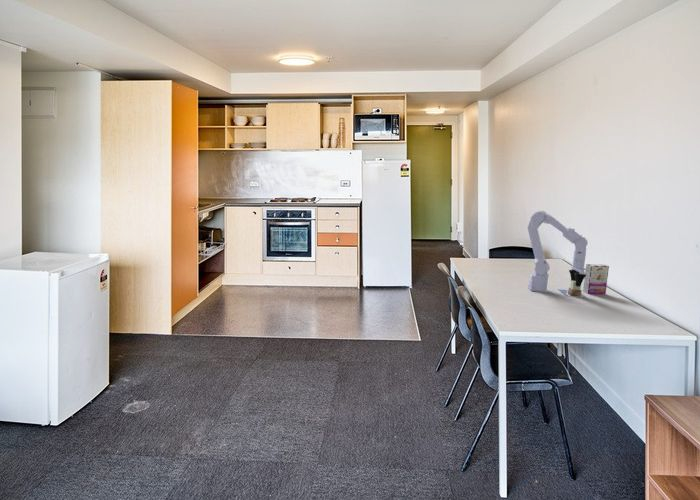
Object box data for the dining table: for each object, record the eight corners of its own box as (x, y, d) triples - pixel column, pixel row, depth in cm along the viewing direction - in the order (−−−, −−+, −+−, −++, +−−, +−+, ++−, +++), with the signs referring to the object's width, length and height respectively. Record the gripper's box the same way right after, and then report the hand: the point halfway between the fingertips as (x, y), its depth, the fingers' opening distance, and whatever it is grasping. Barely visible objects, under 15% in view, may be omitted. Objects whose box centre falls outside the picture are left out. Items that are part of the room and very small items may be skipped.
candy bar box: (599, 292, 285) (603, 264, 282) (605, 294, 280) (609, 265, 278) (581, 292, 283) (585, 263, 280) (587, 294, 278) (591, 265, 275)
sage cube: (572, 289, 271) (573, 282, 270) (570, 287, 275) (571, 280, 274) (580, 290, 270) (581, 282, 270) (577, 288, 274) (578, 281, 274)
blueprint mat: (565, 296, 270) (566, 296, 270) (557, 289, 286) (557, 289, 285) (587, 298, 269) (587, 297, 269) (577, 291, 284) (577, 290, 284)
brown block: (570, 295, 271) (571, 289, 270) (568, 293, 276) (568, 287, 275) (580, 296, 270) (581, 290, 270) (577, 294, 275) (578, 288, 275)
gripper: (591, 263, 262) (588, 288, 265) (582, 258, 277) (579, 282, 279) (577, 261, 263) (574, 287, 265) (568, 257, 277) (565, 281, 280)
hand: (575, 284), depth 272 cm, fingers open, 7 cm apart
